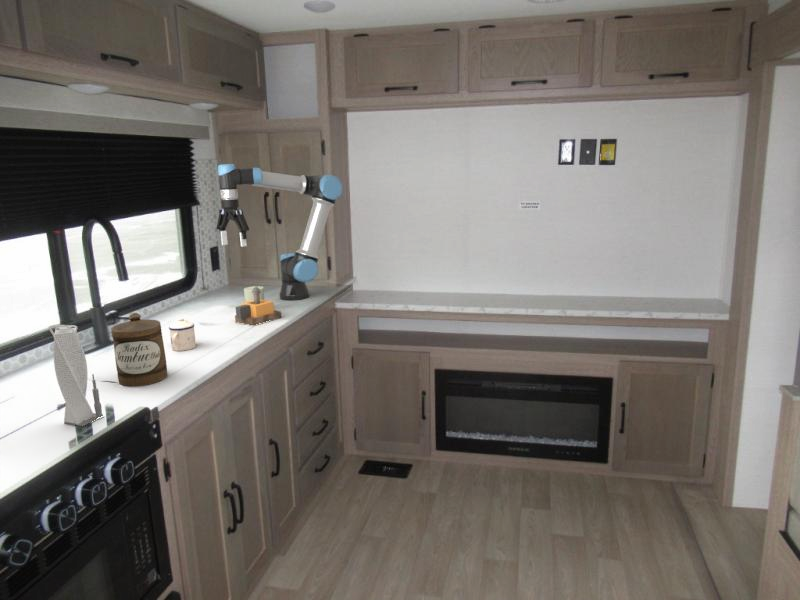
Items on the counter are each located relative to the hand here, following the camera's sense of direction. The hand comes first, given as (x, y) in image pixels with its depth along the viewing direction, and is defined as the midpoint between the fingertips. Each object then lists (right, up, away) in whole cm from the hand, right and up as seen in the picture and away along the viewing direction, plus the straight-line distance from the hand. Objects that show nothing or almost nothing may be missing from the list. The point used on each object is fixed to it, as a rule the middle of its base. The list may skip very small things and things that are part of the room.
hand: (234, 245), depth 273 cm
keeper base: (+14, -34, -10) cm, 38 cm away
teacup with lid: (-6, -44, -49) cm, 66 cm away
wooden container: (-7, -51, -80) cm, 95 cm away
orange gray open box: (+12, -32, -12) cm, 36 cm away
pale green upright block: (+9, -31, +5) cm, 33 cm away
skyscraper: (-11, -58, -111) cm, 126 cm away
